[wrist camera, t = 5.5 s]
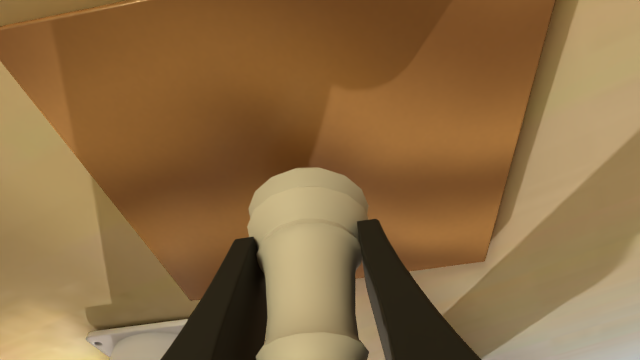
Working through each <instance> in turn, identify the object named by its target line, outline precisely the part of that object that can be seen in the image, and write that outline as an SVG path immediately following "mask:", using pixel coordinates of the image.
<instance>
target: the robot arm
mask: <svg viewBox="0 0 640 360" xmlns="http://www.w3.org/2000/svg"><path fill="white" fill-rule="evenodd" d="M357 227H358V234H359V241H360V246H361V252H362V264H363V270H364V276H365V281H366V287H367V292H368V295H369V299H370V303H371V307H372V310H373V314H374V318H375V322H376V325H377V329H378V333H379V336H380V340H381V344H382V348H383V351H384V355H385V359H386V360H481V359H480V358H479V357H478V356H477V355H476V354H475V353H474V351H473V350H472V349H471V348H470V347H469V346H468V345H467V344H466V343H465V342H464V341H463V339H462V338H461V337H460V336H459V335H458V334H457V333H456V332H455V330H454V329H453V328H452V327H451V326H450V325H449V323H448V322H447V321H446V320H445V319H444V318H443V316H442V315H441V314H440V313H439V312H438V310H437V309H436V308H435V307H434V305H433V304H432V303H431V302H430V300H429V299H428V298H427V296H426V295H425V294H424V292H423V291H422V290H421V289H420V287H419V286H418V284H417V283H416V282H415V280H414V279H413V278H412V276H411V275H410V273H409V272H408V270H407V269H406V267H405V266H404V264H403V263H402V261H401V260H400V258H399V257H398V255H397V254H396V252H395V250H394V249H393V247H392V245H391V244H390V242H389V240H388V238H387V236H386V234H385V232H384V230H383V228H382V226H381V224H380V221H379V220H377V219H370V220H363V221H357ZM257 252H258V248H257V245H256V242H255V239H254V237H247V238H240V239H235V240H234V242H233V243H232V245H231V247H230V249H229V251H228V253H227V255H226V256H225V258H224V260H223V262H222V264H221V266H220V267H219V269H218V271H217V273H216V275H215V276H214V278H213V280H212V282H211V283H210V285H209V287H208V288H207V290H206V292H205V293H204V295H203V297H202V299H201V300H200V302H199V303H198V305H197V307H196V308H195V310H194V311H193V313H192V314H191V316H190V318H189V319H183V320H175V321H168V322H160V323H152V324H145V325H137V326H129V327H122V328H114V329H106V330H99V331H92V332H89V333H88V335H87V337H86V340H87V341H88V342H89V343H90V344H92V345H93V346H95V347H96V348H97V349H99V350H100V351H102V352H103V353H104V354H106V355H107V356H109V357H110V358H109V360H256V355H257V354H258V352H259V351H260V349H261V348H262V347H263V345H264V342H265V334H266V326H267V298H266V279H265V274H264V272H263V271H262V270H261V268H260V266H259V263H258V260H257V255H256V254H257Z"/></svg>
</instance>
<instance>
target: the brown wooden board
mask: <svg viewBox="0 0 640 360" xmlns="http://www.w3.org/2000/svg"><path fill="white" fill-rule="evenodd" d="M555 1H556V0H128V1H123V2H118V3H113V4H108V5H103V6H98V7H93V8H88V9H83V10H78V11H74V12H69V13H64V14H59V15H54V16H49V17H44V18H39V19H34V20H29V21H24V22H19V23H14V24H9V25H4V26H0V61H1V62H2V63H3V65H4V66H5V67H6V69H7V70H8V71H9V72H10V74H11V75H12V76H13V77H14V79H15V80H16V81H17V82H18V84H19V85H20V86H21V87H22V89H23V90H24V91H25V92H26V94H27V95H28V96H29V98H30V99H31V100H32V101H33V103H34V104H35V105H36V106H37V108H38V109H39V110H40V111H41V113H42V114H43V115H44V116H45V118H46V119H47V120H48V121H49V123H50V124H51V125H52V127H53V128H54V129H55V130H56V132H57V133H58V134H59V135H60V137H61V138H62V139H63V140H64V142H65V143H66V144H67V145H68V147H69V148H70V149H71V150H72V152H73V153H74V154H75V155H76V157H77V158H78V159H79V161H80V162H81V163H82V164H83V166H84V167H85V168H86V169H87V171H88V172H89V173H90V174H91V176H92V177H93V178H94V179H95V181H96V182H97V183H98V184H99V186H100V187H101V188H102V190H103V191H104V192H105V193H106V195H107V196H108V197H109V198H110V200H111V201H112V202H113V203H114V205H115V206H116V207H117V208H118V210H119V211H120V212H121V213H122V215H123V216H124V217H125V219H126V220H127V221H128V222H129V224H130V225H131V226H132V227H133V229H134V230H135V231H136V232H137V234H138V235H139V236H140V237H141V239H142V240H143V241H144V242H145V244H146V245H147V246H148V248H149V249H150V250H151V251H152V253H153V254H154V255H155V256H156V258H157V259H158V260H159V261H160V263H161V264H162V265H163V266H164V268H165V269H166V270H167V271H168V273H169V274H170V275H171V277H172V278H173V279H174V280H175V282H176V283H177V284H178V285H179V287H180V288H181V289H182V290H183V292H184V293H185V294H186V295H187V297H188V298H189V299H190V300H191V301H192V300H200V299H202V297H203V295H204V293H205V292H206V290H207V288H208V287H209V285H210V283H211V282H212V280H213V278H214V276H215V275H216V273H217V271H218V269H219V267H220V266H221V264H222V262H223V260H224V258H225V256H226V255H227V253H228V251H229V249H230V247H231V245H232V243H233V242H234V240H235V239H240V238H247V237H249V234H248V228H247V226H248V223H249V221H250V214H249V209H248V208H249V206H250V203H251V201H252V198H253V195H254V193H255V191H256V190H257V189H258V188H260V187H261V186H262V185H263V184H264V183H265V182H266V181H268V180H269V179H270V178H271V177H273V176H276V175H279V174H281V173H284V172H287V171H290V170H293V169H295V168H312V167H319V168H322V169H326V170H329V171H332V172H335V173H338V174H341V175H345V176H346V177H347V178H349V179H350V180H351V181H352V182H353V183H355V184H356V185H357V186H358V187H360V188H361V189H362V191H363V194H364V196H365V198H366V201H367V203H368V205H369V206H368V213H367V216H368V219H369V220H370V219H377V220H379V221H380V224H381V226H382V228H383V230H384V232H385V234H386V236H387V238H388V240H389V242H390V244H391V245H392V247H393V249H394V250H395V252H396V254H397V255H398V257H399V258H400V260H401V261H402V263H403V264H404V266H405V267H406V269H407V270H408V271H416V270H423V269H431V268H438V267H446V266H453V265H460V264H468V263H475V262H483V261H485V258H486V255H487V251H488V247H489V244H490V240H491V236H492V233H493V229H494V225H495V222H496V218H497V214H498V211H499V207H500V203H501V200H502V196H503V192H504V189H505V185H506V181H507V178H508V174H509V170H510V166H511V163H512V159H513V155H514V152H515V148H516V144H517V141H518V137H519V133H520V130H521V126H522V122H523V119H524V115H525V111H526V108H527V104H528V100H529V97H530V93H531V89H532V86H533V82H534V78H535V74H536V71H537V67H538V63H539V60H540V56H541V52H542V49H543V45H544V41H545V38H546V34H547V30H548V27H549V23H550V19H551V16H552V12H553V8H554V5H555ZM364 277H365V276H364V270H363V264H362V261H361V265H360V266H359V267H358V268H357V270H356V273H355V279H356V278H364Z"/></svg>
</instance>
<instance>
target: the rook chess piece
mask: <svg viewBox="0 0 640 360" xmlns="http://www.w3.org/2000/svg"><path fill="white" fill-rule="evenodd" d="M368 206H369V205H368V203H367V201H366V198H365V196H364V194H363V191H362V189H361V188H360V187H358V186H357V185H356V184H355V183H353V182H352V181H351V180H350V179H349V178H347V177H346V176H345V175H341V174H338V173H335V172H332V171H329V170H326V169H322V168H319V167H312V168H295V169H293V170H290V171H287V172H284V173H281V174H279V175H276V176H273V177H271V178H270V179H269V180H268V181H266V182H265V183H264V184H263V185H262V186H261V187H260V188H258V189H257V190H256V191H255V193H254V195H253V198H252V201H251V203H250V206H249V208H248V209H249V214H250V221H249V223H248V226H247V228H248V234H249V237H254V239H255V242H256V245H257V248H258V252H257V254H256V255H257V260H258V263H259V266H260V268H261V270H262V271H263V272H264V274H265V279H266V298H267V329H266V340H265V344H264V345H263V347H262V348H261V349H260V351H259V352H258V354H257V355H256V360H367V358H368V354H369V351H368V350H367V349H366V347H365V346H364V345H363V343H362V342H361V341H360V340H359V338H358V330H357V323H356V316H355V273H356V270H357V268H358V267H359V266H360V265H361V261H362V252H361V246H360V241H359V234H358V227H357V221H363V220H369V219H368V216H367V213H368Z"/></svg>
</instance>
